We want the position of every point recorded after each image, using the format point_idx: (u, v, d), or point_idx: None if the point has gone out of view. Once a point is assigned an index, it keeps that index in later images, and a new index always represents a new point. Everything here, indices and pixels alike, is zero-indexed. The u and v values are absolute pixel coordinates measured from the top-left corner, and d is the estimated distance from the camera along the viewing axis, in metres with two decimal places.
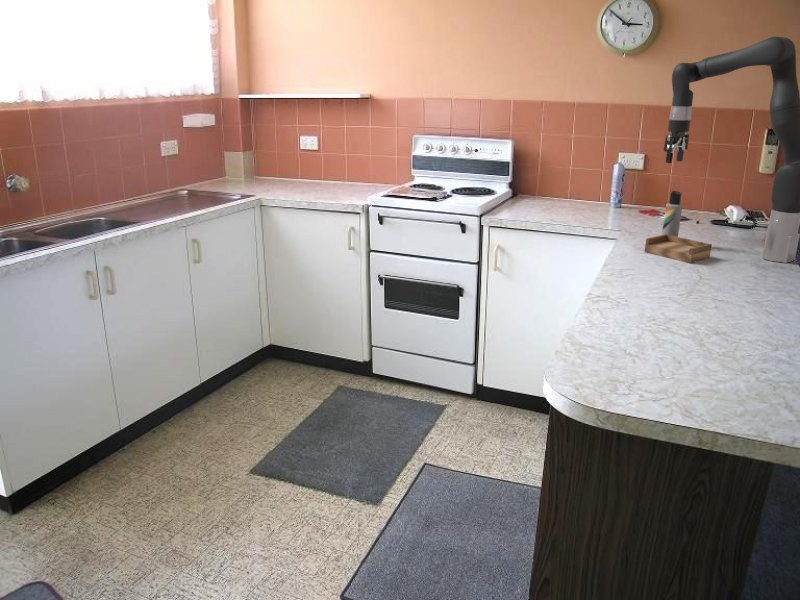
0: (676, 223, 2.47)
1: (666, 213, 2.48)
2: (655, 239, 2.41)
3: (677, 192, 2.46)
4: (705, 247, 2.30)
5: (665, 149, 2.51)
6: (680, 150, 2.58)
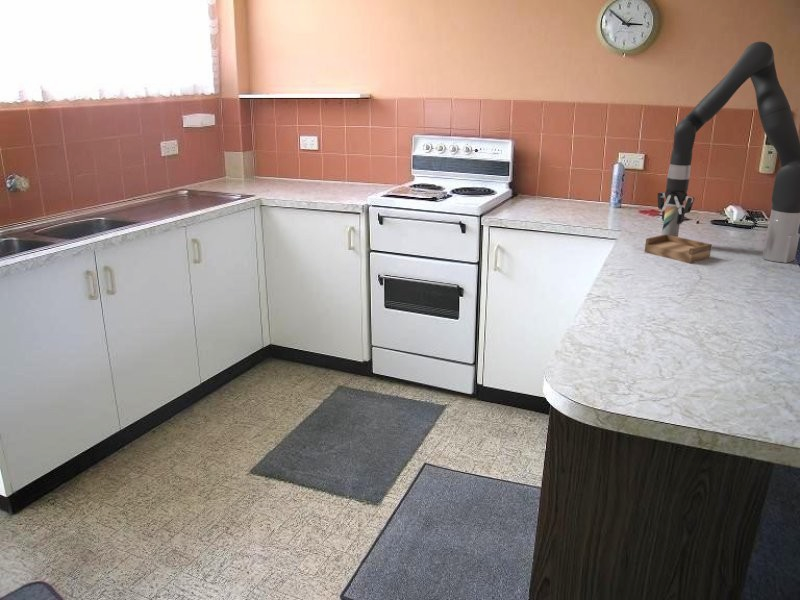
0: (676, 223, 2.47)
1: (666, 213, 2.48)
2: (655, 239, 2.41)
3: None
4: (705, 247, 2.30)
5: (687, 211, 2.43)
6: None
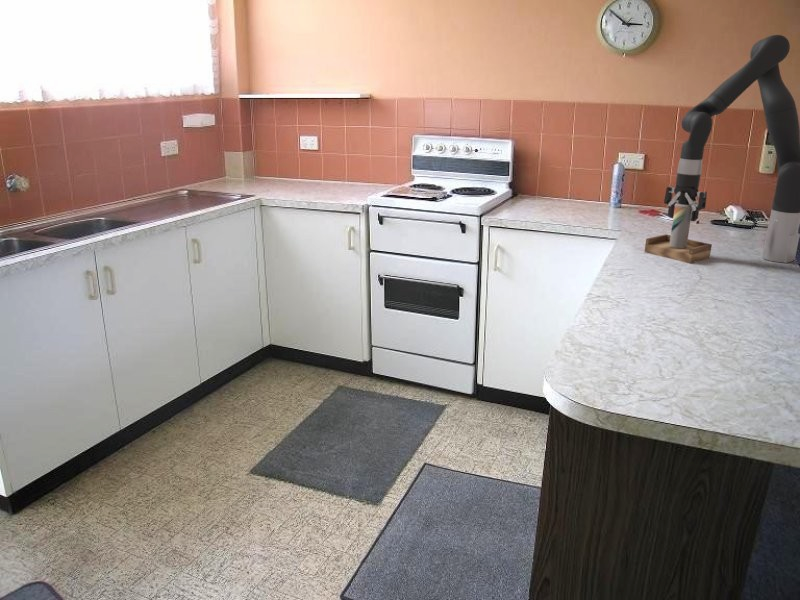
0: (686, 224, 2.31)
1: (675, 214, 2.32)
2: (655, 239, 2.41)
3: None
4: (705, 247, 2.30)
5: (702, 207, 2.26)
6: (673, 205, 2.35)
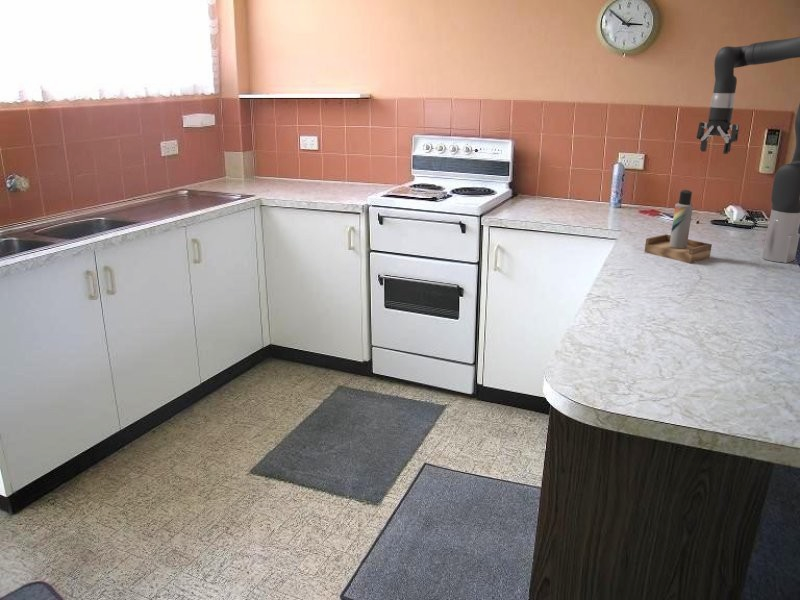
0: (687, 224, 2.31)
1: (675, 214, 2.32)
2: (655, 239, 2.41)
3: (687, 191, 2.29)
4: (705, 247, 2.30)
5: (734, 139, 2.35)
6: (705, 140, 2.44)
